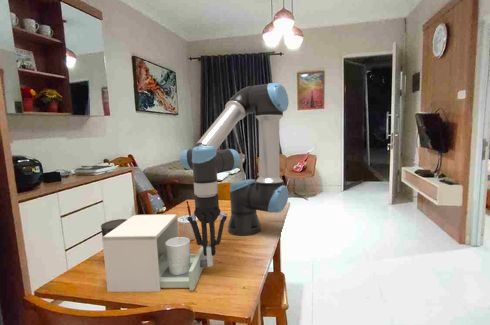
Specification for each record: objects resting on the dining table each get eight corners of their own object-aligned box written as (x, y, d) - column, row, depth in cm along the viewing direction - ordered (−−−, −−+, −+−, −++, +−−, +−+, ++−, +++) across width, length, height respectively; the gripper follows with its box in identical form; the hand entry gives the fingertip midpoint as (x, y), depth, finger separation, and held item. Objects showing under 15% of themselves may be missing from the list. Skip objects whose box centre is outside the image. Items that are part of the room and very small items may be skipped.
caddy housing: (180, 258, 113) (177, 213, 111) (159, 291, 91) (155, 236, 89) (138, 259, 114) (134, 214, 112) (107, 291, 92) (102, 237, 90)
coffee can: (100, 267, 109) (96, 228, 107) (110, 254, 119) (106, 219, 117) (129, 264, 110) (126, 226, 108) (137, 253, 120) (134, 218, 118)
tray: (214, 257, 112) (213, 241, 111) (201, 290, 90) (200, 271, 89) (164, 257, 113) (163, 242, 113) (140, 290, 91) (138, 271, 90)
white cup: (194, 272, 99) (192, 242, 98) (170, 278, 96) (168, 248, 94) (187, 263, 106) (186, 235, 105) (165, 268, 103) (162, 240, 101)
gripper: (227, 191, 101) (231, 259, 104) (189, 192, 102) (193, 259, 105) (225, 196, 94) (228, 269, 97) (183, 197, 94) (188, 270, 97)
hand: (210, 264), depth 101 cm, fingers closed
